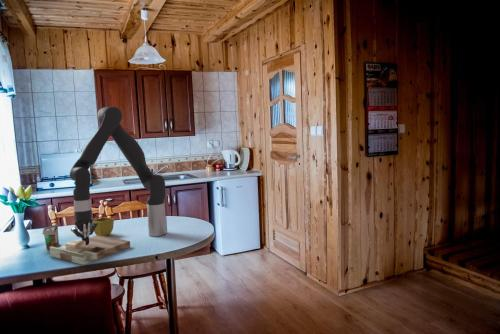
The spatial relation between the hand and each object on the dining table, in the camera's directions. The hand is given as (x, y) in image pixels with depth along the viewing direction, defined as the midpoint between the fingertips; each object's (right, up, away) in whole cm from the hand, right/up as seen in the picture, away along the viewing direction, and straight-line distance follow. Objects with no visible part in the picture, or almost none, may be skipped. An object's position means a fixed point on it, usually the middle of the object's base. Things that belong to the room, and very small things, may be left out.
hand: (85, 244), depth 175 cm
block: (-2, -2, -4) cm, 5 cm away
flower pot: (-3, -1, +30) cm, 30 cm away
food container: (-23, -4, +11) cm, 25 cm away
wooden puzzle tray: (+2, -4, +3) cm, 5 cm away
